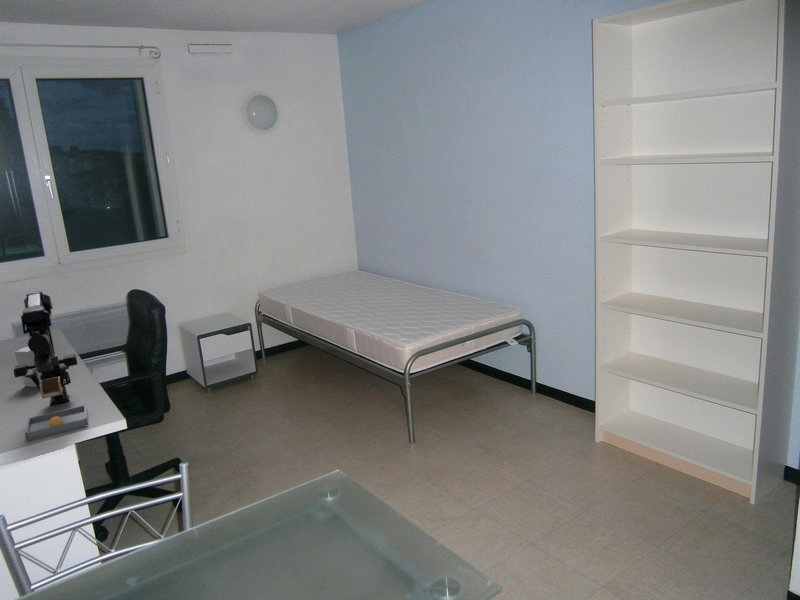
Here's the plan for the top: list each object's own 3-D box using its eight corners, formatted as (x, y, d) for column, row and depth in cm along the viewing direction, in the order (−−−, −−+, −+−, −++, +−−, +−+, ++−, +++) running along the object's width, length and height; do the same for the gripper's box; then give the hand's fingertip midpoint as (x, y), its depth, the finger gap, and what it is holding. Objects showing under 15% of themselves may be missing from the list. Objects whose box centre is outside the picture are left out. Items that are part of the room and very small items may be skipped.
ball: (51, 431, 203) (49, 420, 204) (64, 428, 205) (62, 417, 206) (49, 427, 200) (47, 416, 201) (63, 424, 202) (60, 413, 203)
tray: (29, 424, 211) (27, 418, 210) (87, 411, 218) (86, 404, 218) (26, 440, 197) (24, 433, 197) (88, 425, 205) (86, 418, 205)
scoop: (43, 392, 213) (40, 380, 212) (62, 388, 215) (59, 376, 214) (42, 398, 206) (39, 386, 205) (62, 394, 209) (59, 381, 208)
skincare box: (51, 382, 255) (43, 345, 251) (35, 388, 248) (26, 351, 245) (38, 380, 258) (29, 344, 255) (22, 387, 252) (13, 350, 248)
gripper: (7, 357, 196) (18, 403, 200) (72, 344, 204) (82, 388, 208) (10, 349, 206) (21, 393, 210) (72, 337, 214) (81, 379, 218)
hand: (51, 388), depth 211 cm, fingers closed on scoop, 6 cm apart
